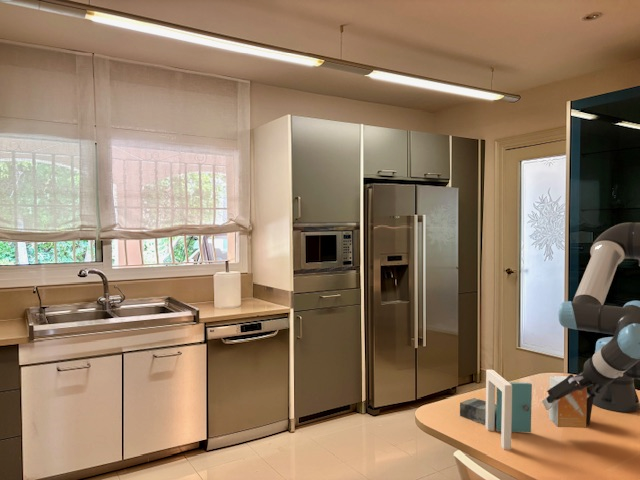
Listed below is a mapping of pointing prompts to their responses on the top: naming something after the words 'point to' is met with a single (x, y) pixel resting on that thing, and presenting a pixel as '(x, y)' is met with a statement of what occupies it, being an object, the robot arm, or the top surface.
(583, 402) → the small box
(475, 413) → the stone block
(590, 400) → the coffee mug
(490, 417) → the door frame
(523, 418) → the door leaf
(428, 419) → the top surface
